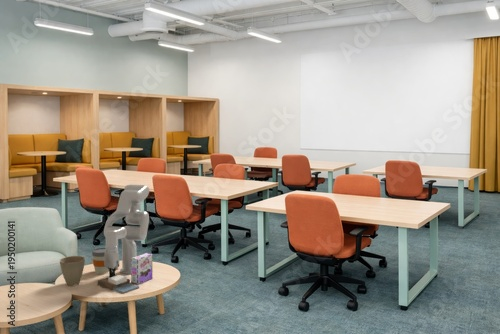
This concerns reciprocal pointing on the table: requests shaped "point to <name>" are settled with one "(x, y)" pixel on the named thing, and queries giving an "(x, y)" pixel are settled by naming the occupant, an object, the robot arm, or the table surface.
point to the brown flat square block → (108, 285)
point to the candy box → (141, 268)
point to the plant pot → (72, 269)
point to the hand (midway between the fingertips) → (112, 277)
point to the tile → (117, 279)
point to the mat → (125, 288)
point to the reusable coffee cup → (99, 260)
